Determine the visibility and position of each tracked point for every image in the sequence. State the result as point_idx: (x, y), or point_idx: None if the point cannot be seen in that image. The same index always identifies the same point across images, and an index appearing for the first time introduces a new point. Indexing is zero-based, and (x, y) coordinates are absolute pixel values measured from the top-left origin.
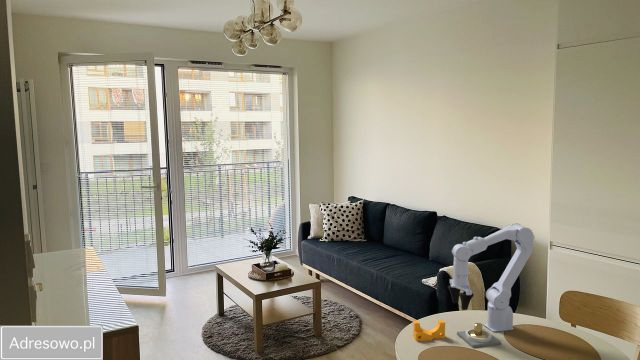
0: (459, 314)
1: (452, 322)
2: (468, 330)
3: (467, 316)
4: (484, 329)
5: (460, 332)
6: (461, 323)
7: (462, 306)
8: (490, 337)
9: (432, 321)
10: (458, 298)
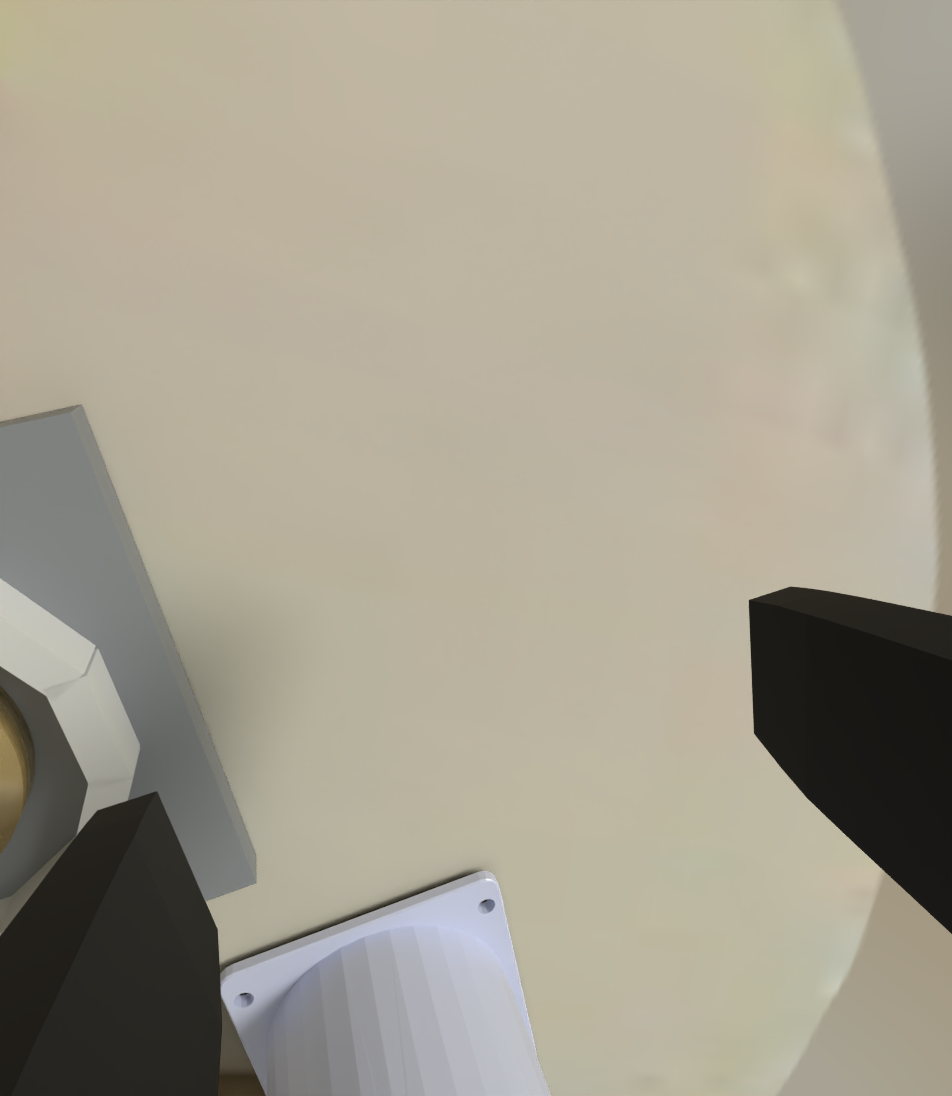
0: None
1: (607, 460)
2: (1, 650)
3: None
4: (229, 888)
5: (44, 480)
6: (556, 592)
7: (15, 919)
8: None
9: (695, 90)
10: (869, 839)
